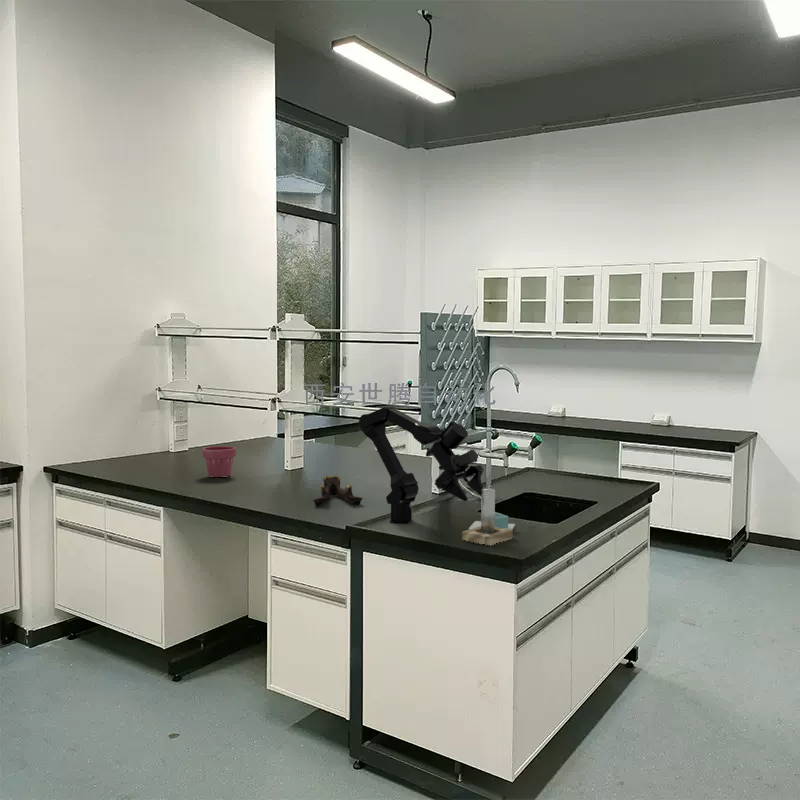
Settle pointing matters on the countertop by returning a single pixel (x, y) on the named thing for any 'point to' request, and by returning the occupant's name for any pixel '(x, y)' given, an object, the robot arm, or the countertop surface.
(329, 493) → the dark brown branching piece
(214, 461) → the plant pot
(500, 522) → the plate with teal chevron
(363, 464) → the countertop surface
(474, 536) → the wooden frame
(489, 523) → the silver metal cylinder
